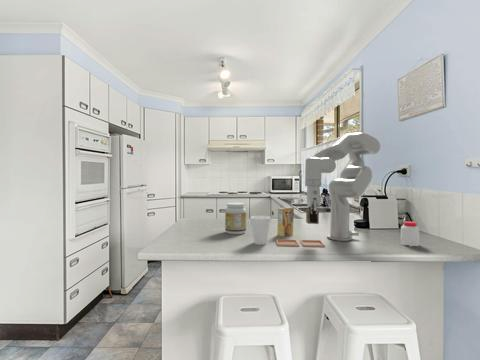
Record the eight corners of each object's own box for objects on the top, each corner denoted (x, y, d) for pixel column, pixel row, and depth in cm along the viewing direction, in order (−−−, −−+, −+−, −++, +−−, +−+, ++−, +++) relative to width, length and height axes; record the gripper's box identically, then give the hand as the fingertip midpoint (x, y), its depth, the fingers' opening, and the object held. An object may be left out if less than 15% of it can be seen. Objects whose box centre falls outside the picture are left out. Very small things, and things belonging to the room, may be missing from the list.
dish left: (320, 242, 146) (320, 240, 146) (325, 247, 136) (325, 245, 136) (300, 242, 146) (300, 239, 146) (303, 247, 137) (303, 244, 136)
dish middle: (296, 242, 147) (296, 239, 147) (299, 247, 137) (299, 244, 137) (276, 241, 147) (276, 239, 147) (277, 246, 137) (277, 244, 137)
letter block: (316, 222, 143) (316, 209, 143) (318, 223, 138) (318, 210, 138) (306, 221, 143) (306, 209, 143) (307, 223, 138) (308, 210, 138)
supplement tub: (223, 230, 173) (223, 202, 172) (243, 230, 176) (243, 201, 175) (227, 235, 161) (227, 204, 161) (248, 234, 164) (248, 204, 164)
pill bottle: (416, 243, 146) (417, 221, 145) (420, 247, 138) (421, 224, 138) (399, 242, 148) (399, 220, 148) (402, 245, 141) (402, 223, 141)
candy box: (287, 233, 166) (288, 206, 166) (293, 235, 163) (294, 207, 163) (277, 235, 161) (277, 208, 160) (282, 237, 157) (283, 208, 157)
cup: (273, 242, 145) (274, 216, 144) (265, 247, 136) (266, 219, 136) (255, 240, 150) (255, 215, 149) (246, 244, 141) (246, 217, 140)
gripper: (325, 184, 132) (324, 224, 132) (317, 183, 149) (316, 218, 149) (308, 183, 132) (307, 224, 132) (302, 182, 149) (301, 218, 149)
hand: (312, 220), depth 141 cm, fingers closed on letter block, 5 cm apart
